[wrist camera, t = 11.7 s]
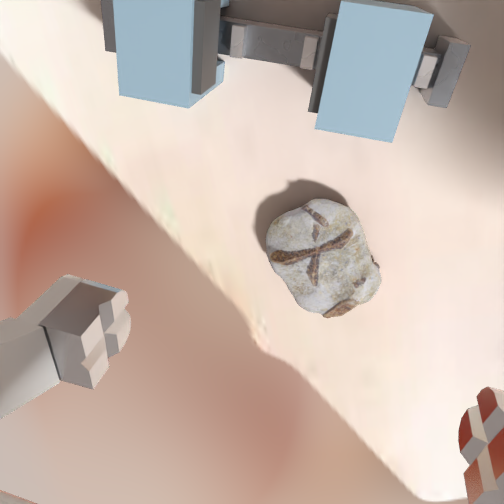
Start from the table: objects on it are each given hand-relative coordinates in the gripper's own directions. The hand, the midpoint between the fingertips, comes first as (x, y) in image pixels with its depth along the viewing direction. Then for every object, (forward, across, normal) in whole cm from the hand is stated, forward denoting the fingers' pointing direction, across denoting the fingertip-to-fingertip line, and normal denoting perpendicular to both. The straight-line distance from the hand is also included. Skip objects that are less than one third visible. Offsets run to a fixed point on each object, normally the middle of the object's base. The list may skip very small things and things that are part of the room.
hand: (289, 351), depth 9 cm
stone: (+26, -1, +14) cm, 29 cm away
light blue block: (+25, +12, -2) cm, 28 cm away
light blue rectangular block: (+26, 0, -2) cm, 26 cm away
